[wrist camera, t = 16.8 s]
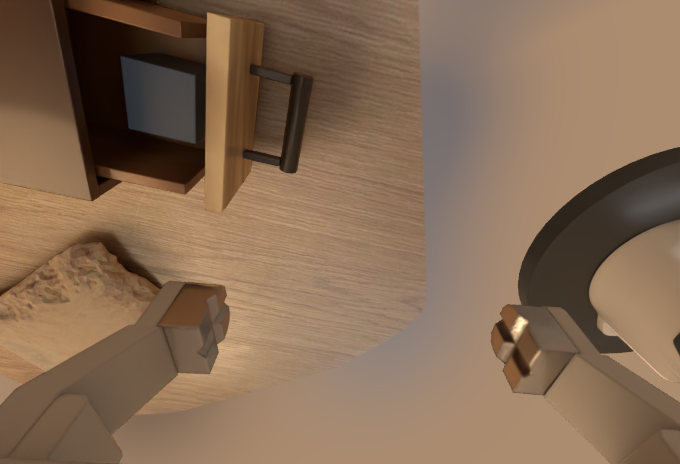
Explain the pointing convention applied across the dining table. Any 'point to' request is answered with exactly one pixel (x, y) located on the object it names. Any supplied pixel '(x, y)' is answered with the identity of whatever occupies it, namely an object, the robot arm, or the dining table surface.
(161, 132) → the block
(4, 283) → the dining table surface
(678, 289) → the robot arm
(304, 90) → the drawer
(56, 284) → the tablet
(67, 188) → the cabinet
